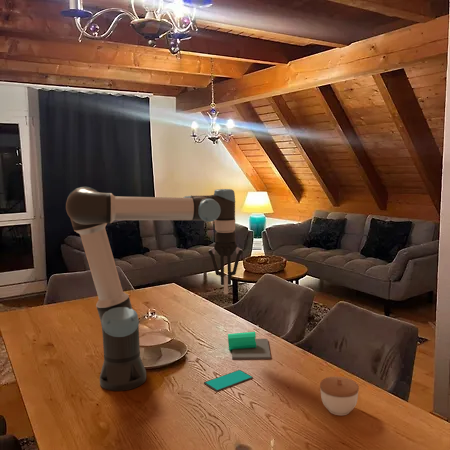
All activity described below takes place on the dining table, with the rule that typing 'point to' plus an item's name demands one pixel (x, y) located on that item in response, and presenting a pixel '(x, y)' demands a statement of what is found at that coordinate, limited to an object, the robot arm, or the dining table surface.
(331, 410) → the lidded jar
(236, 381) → the smartphone
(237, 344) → the candle
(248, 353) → the mat
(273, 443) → the dining table surface
